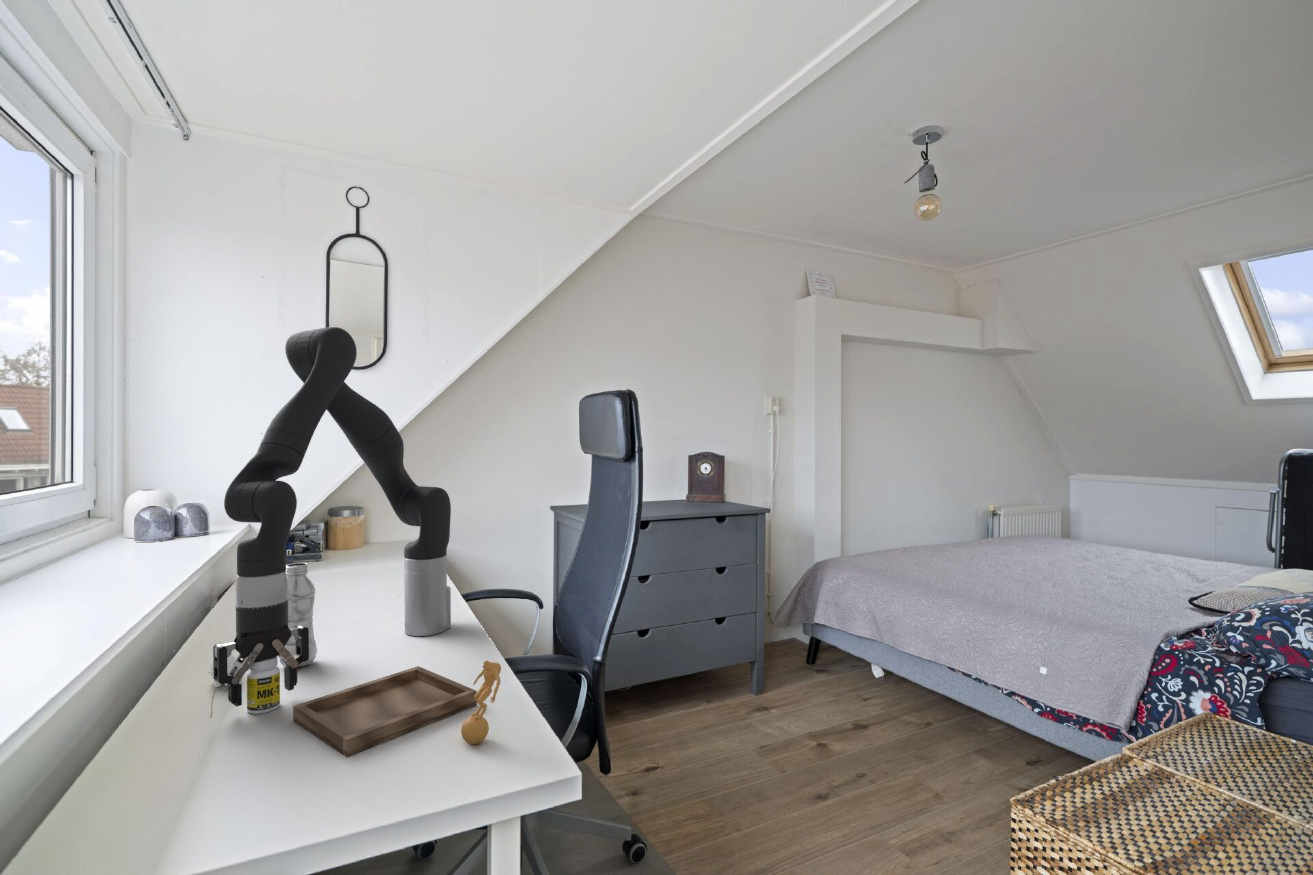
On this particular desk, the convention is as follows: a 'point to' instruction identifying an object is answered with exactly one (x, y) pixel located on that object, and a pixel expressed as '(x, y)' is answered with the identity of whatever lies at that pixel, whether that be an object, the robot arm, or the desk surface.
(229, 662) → the toy creature
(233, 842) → the desk surface
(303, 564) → the plastic bottle
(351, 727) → the walnut tray
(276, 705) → the supplement bottle
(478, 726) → the figurine
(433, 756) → the desk surface
